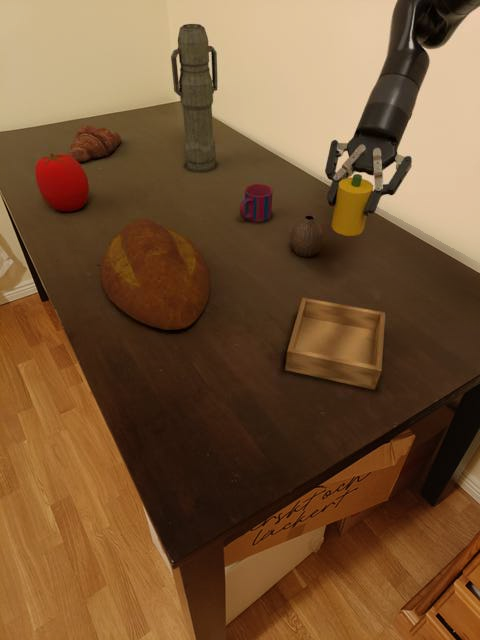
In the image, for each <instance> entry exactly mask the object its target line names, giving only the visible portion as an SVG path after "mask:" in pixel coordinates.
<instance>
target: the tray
mask: <svg viewBox="0 0 480 640" xmlns="http://www.w3.org/2000/svg"><path fill="white" fill-rule="evenodd" d="M385 325H386V312H384V311H379V310H373V309H367V308H362V307H356V306H352V305H345V304H340V303H335V302H330V301H323V300H318V299H313V298H307V297H302V298H301V301H300V304H299V308H298V312H297V316H296V318H295V323H294V326H293V328H292V333H291V336H290V339H289V344H288V346H287V351H286V358H285V367H284V368H285V369H284V370H285V371H287V372H292V373H297V374H301V375H306V376H311V377H315V378H319V379H323V380H328V381H332V382H337V383H342V384H346V385H351V386H354V387H360V388H365V389H370V390H376V388H377V385H378V382H379V379H380V376H381V373H382V371H383V370H382V369H383V355H384V342H385V341H384V339H385Z"/></svg>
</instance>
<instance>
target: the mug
mask: <svg viewBox="0 0 480 640" xmlns="http://www.w3.org/2000/svg"><path fill="white" fill-rule="evenodd" d="M272 207H273V188H272V187H271V186H270V185H268V184H264V183H254V184H250V185H246V187H245V188H244V199H243V200H242V202H241V203H240V206H239V215H240V217H242V218H243V219H245V220H248V221H249V222H253V223H264V222H266V221H268V220H270V219H271V218H272V209H273V208H272Z"/></svg>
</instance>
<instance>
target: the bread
mask: <svg viewBox="0 0 480 640" xmlns="http://www.w3.org/2000/svg"><path fill="white" fill-rule="evenodd" d="M99 267H100V269H99V278H100V282H101V284H102V287H103V290H104V292H105V293H106V295H107V297H108V299H109V300H110V301H111V302H112V303H113V304H114V305H115V306H116V307H117V308H119V309H120V310H121V311H123V313H125V315H128V316H129V317H131V318H132V319H134V320H135V321H137V322H139V323H142V324H145V325H146V326H149V327H151V328H157V329H161V330H164V331H175V330H176V331H177V330H179V331H180V330H186V329H188V328H189V327H191V325H193V324H194V323H195V322H196V321H197V320H198V318H200V316H201V314H202V313H203V312H204V310H205V307H206V306H207V303H208V302H209V297H210V292H211V269H210V268H209V266H208V264H207V262H206V260H205V258H204V256H203V255H202V253H201V252H200V250H198V248H197V247H196V245H194V244H193V242H192V241H191V240H190V239H189V238H188V237H185V236H184V235H183V234H181V233H179V232H177V231H176V230H173V229H172V228H170V227H168V226H165V225H163V224H160V223H157V222H156V221H154V220H151V219H149V218H138V219H134V220H132V221H131V222H129V223H128V224H127V225H125V226H124V227H123V228H122V229H121V230H120V231H119V232H118V233H117V234H115V236H114V237H112V239H111V241H110V243H109V244H108V246H107V248H106V250H105V252H104V253H103V255H102V257H101V262H100V266H99Z"/></svg>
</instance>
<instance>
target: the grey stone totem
mask: <svg viewBox="0 0 480 640" xmlns="http://www.w3.org/2000/svg"><path fill="white" fill-rule="evenodd" d="M210 55H211V69H210V66H209V63H210ZM177 58H178V59H179V64H180V68H179V70H178V62H177V61H178V59H177ZM170 61H171V72H172V82H173V83H172V84H173V92H174V93H175V94H176V95H177V96H179V100H180V104H181V106H182V113H183V124H184V125H183V126H184V136H185V138H184V143H183V147H184V157H185V160H186V168H187V169H188V170H190V171H192V172H207V171H208V172H209V171H211V170H212V169H214V168H216V157H217V155H216V142H215V138H214V132H213V131H214V129H213V106H212V105H213V103H214V94H215V92H216V91H218V83H219V82H218V53H217V51H216V49H215V48H214V46H212V45H209V38H208V34H207V31H206V28H205V26H204V25H203V26H202V24H199V23H186V24H183V25H182V26H180V27H179V31H178V36H177V48H176V49H174V50H172V53H171V55H170ZM210 70H211V71H210ZM179 71H180V72H179ZM178 72H179V73H178Z"/></svg>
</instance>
